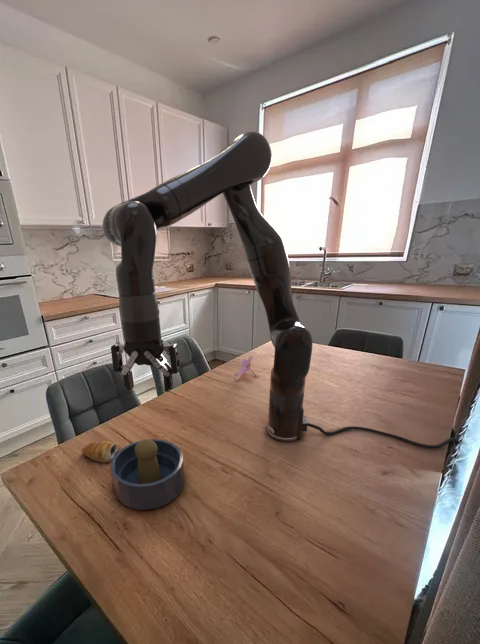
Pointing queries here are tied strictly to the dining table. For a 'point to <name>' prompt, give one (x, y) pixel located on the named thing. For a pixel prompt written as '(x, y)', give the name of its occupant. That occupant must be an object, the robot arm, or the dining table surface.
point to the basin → (149, 493)
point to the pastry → (100, 451)
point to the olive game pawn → (147, 462)
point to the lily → (245, 366)
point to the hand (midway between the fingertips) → (149, 389)
